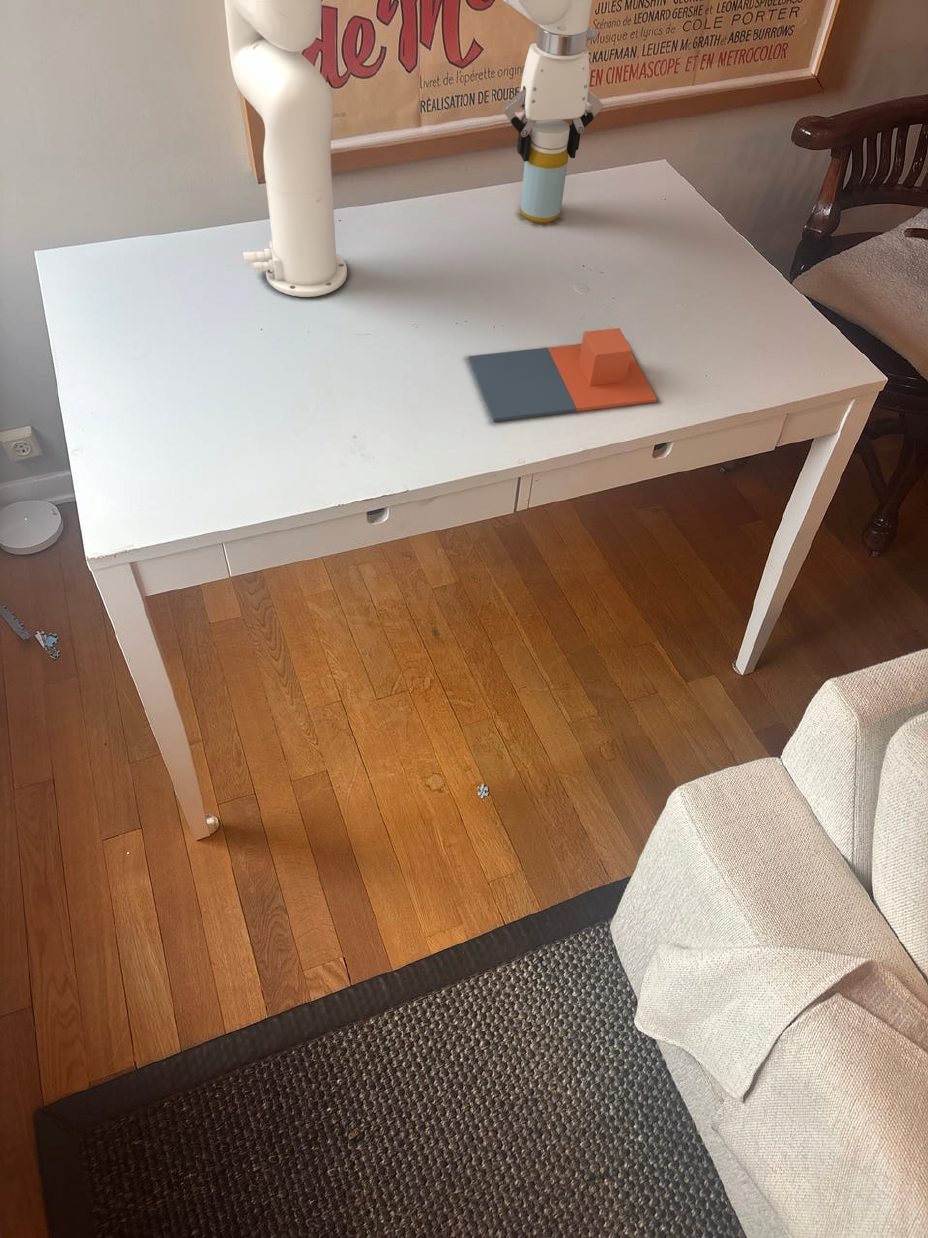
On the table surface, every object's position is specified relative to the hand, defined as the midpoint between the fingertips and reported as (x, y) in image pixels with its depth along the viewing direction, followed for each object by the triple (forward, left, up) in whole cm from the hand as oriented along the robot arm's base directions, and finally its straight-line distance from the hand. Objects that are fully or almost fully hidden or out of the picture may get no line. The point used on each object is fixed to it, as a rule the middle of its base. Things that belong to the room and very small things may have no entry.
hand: (547, 154), depth 158 cm
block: (-4, -44, -10) cm, 45 cm away
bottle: (0, 0, -10) cm, 10 cm away
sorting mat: (-10, -44, -10) cm, 46 cm away
